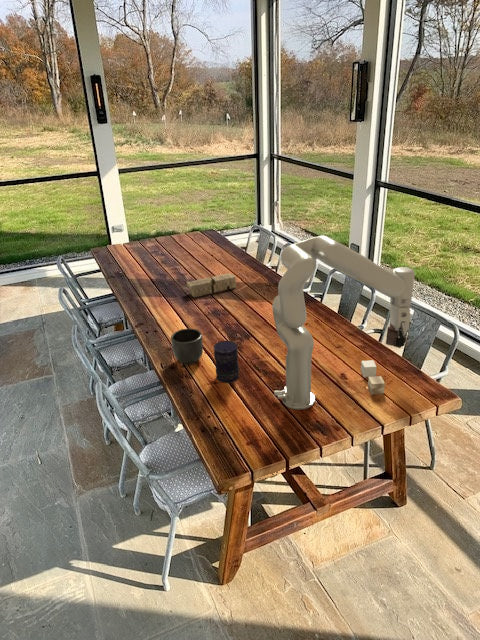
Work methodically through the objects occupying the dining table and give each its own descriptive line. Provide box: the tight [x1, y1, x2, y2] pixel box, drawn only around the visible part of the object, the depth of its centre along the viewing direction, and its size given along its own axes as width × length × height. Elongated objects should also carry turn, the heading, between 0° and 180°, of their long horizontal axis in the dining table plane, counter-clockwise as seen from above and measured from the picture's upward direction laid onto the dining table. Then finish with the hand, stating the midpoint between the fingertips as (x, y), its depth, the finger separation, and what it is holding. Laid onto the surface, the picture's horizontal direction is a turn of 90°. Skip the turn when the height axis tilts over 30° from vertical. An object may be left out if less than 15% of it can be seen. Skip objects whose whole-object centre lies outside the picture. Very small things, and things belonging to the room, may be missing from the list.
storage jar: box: [213, 340, 240, 384], centre depth 195 cm, size 10×10×15 cm
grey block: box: [360, 359, 377, 378], centre depth 193 cm, size 5×5×5 cm
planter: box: [170, 328, 204, 366], centre depth 209 cm, size 14×14×13 cm
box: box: [385, 324, 408, 349], centre depth 181 cm, size 6×6×7 cm
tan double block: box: [186, 273, 237, 298], centre depth 283 cm, size 8×8×29 cm
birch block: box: [367, 375, 386, 395], centre depth 182 cm, size 5×5×5 cm
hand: (396, 340), depth 182 cm, fingers closed on box, 8 cm apart
